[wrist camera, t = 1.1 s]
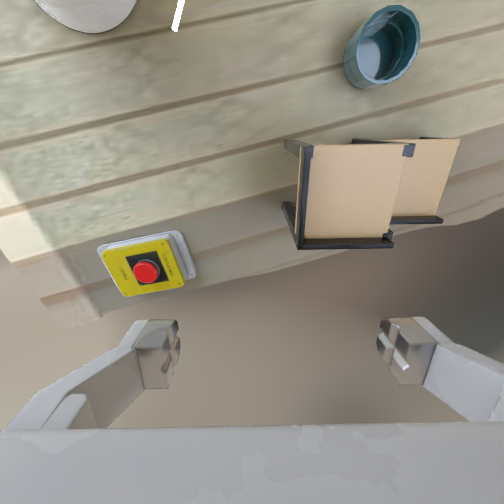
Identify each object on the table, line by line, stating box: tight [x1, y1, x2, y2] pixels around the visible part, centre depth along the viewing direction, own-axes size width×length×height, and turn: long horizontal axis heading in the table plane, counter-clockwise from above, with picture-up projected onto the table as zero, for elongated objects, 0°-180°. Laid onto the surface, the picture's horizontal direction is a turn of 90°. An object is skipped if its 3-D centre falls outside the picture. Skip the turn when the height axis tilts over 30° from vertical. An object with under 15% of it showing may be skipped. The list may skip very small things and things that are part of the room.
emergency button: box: [97, 230, 196, 297], centre depth 41 cm, size 9×4×15 cm
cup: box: [343, 5, 420, 89], centre depth 28 cm, size 7×7×5 cm
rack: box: [282, 137, 461, 250], centre depth 30 cm, size 10×20×15 cm, turn 91°
